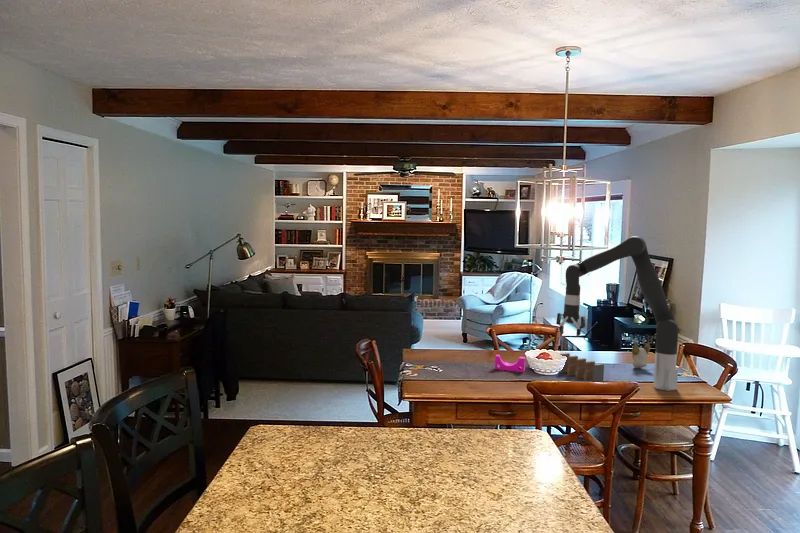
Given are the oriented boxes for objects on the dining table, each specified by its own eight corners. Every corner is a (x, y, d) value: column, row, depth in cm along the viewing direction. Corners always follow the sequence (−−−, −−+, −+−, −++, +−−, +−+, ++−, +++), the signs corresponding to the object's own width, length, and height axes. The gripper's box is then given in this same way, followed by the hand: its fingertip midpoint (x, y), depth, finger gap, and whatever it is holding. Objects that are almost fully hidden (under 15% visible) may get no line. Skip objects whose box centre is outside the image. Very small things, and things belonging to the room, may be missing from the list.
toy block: (524, 370, 300) (525, 356, 300) (523, 372, 294) (524, 358, 294) (496, 367, 305) (497, 353, 304) (494, 370, 299) (495, 356, 298)
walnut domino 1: (569, 372, 296) (569, 353, 296) (561, 373, 294) (562, 354, 293) (567, 371, 298) (567, 352, 297) (559, 372, 296) (560, 353, 295)
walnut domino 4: (594, 381, 280) (595, 361, 279) (586, 382, 278) (587, 362, 277) (591, 380, 281) (592, 360, 281) (584, 381, 279) (584, 361, 279)
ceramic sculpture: (641, 366, 313) (642, 339, 311) (652, 370, 304) (653, 342, 303) (624, 367, 310) (626, 340, 309) (634, 371, 302) (636, 343, 300)
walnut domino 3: (585, 378, 285) (586, 358, 285) (577, 379, 283) (578, 359, 283) (583, 377, 287) (584, 358, 286) (575, 378, 285) (576, 358, 284)
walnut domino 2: (577, 375, 291) (577, 356, 290) (569, 376, 289) (570, 356, 288) (574, 374, 292) (575, 355, 292) (567, 375, 290) (568, 356, 289)
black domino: (603, 384, 275) (604, 364, 274) (595, 385, 272) (596, 365, 272) (600, 383, 276) (601, 363, 275) (592, 384, 274) (593, 364, 273)
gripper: (555, 302, 291) (553, 333, 293) (583, 305, 283) (580, 337, 284) (561, 301, 297) (559, 331, 299) (588, 304, 289) (586, 335, 290)
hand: (569, 334), depth 291 cm, fingers open, 8 cm apart
